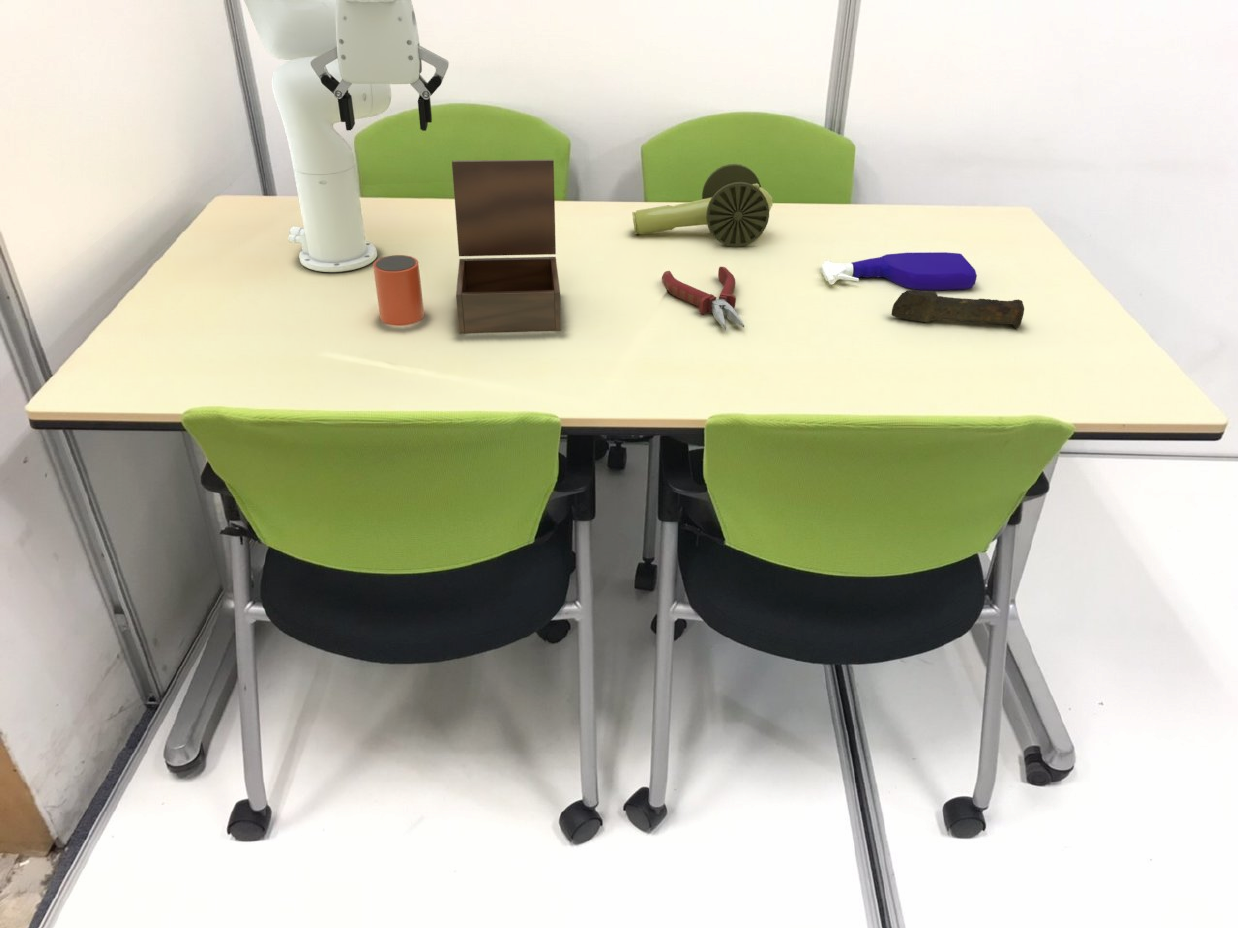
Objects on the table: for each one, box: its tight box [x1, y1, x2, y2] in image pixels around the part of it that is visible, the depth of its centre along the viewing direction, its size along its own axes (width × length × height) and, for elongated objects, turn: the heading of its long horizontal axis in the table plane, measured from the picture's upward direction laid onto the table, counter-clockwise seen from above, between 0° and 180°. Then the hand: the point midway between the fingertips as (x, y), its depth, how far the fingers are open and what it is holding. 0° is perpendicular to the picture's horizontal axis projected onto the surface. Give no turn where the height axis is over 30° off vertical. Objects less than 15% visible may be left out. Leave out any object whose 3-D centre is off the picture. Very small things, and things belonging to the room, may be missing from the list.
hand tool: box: [890, 289, 1025, 329], centre depth 141 cm, size 19×4×5 cm, turn 82°
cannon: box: [632, 163, 774, 248], centre depth 166 cm, size 25×12×11 cm, turn 90°
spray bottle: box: [820, 251, 978, 291], centre depth 154 cm, size 3×11×24 cm
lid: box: [451, 158, 557, 257], centre depth 139 cm, size 14×15×5 cm
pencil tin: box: [372, 254, 425, 327], centre depth 136 cm, size 6×6×9 cm
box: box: [455, 256, 562, 335], centre depth 138 cm, size 13×15×7 cm
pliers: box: [661, 266, 745, 331], centre depth 144 cm, size 12×20×3 cm, turn 14°
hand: (387, 127), depth 124 cm, fingers open, 9 cm apart
